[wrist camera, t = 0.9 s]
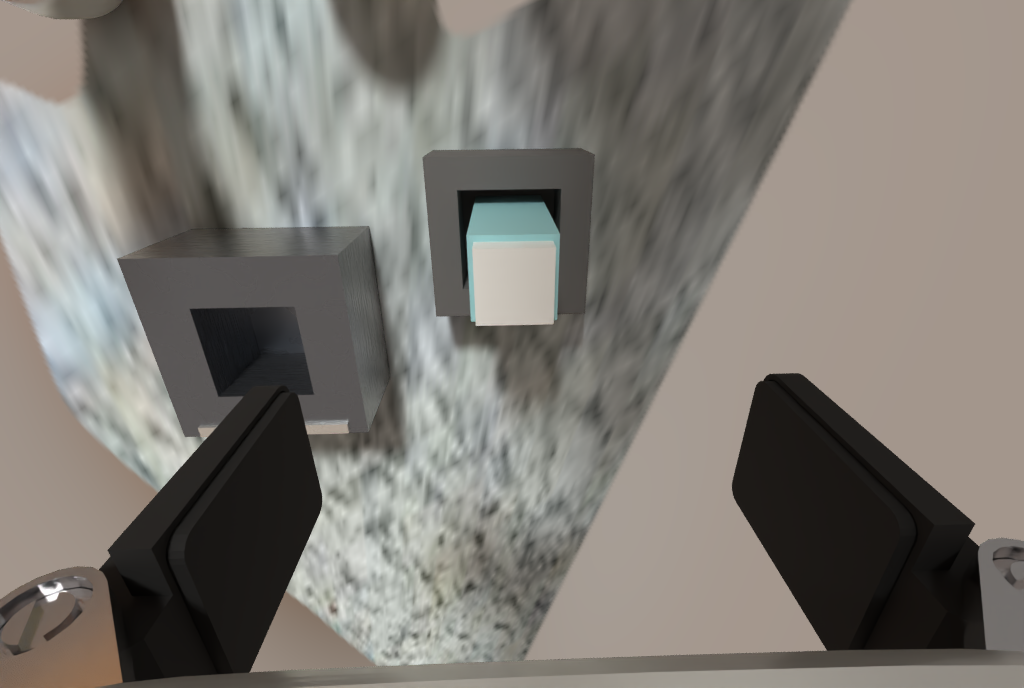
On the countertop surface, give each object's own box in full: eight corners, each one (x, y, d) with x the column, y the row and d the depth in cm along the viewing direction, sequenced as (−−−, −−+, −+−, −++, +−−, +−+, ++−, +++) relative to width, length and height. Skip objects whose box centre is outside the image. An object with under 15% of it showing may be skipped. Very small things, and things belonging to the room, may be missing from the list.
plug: (475, 195, 26) (464, 242, 17) (540, 194, 26) (563, 240, 17) (478, 259, 28) (469, 331, 19) (539, 258, 28) (559, 330, 19)
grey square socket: (433, 150, 26) (422, 157, 22) (581, 148, 26) (594, 154, 22) (443, 291, 29) (436, 316, 26) (574, 288, 30) (584, 313, 26)
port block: (191, 229, 27) (114, 260, 22) (368, 226, 28) (336, 256, 22) (237, 381, 32) (182, 439, 26) (390, 377, 32) (367, 434, 26)
